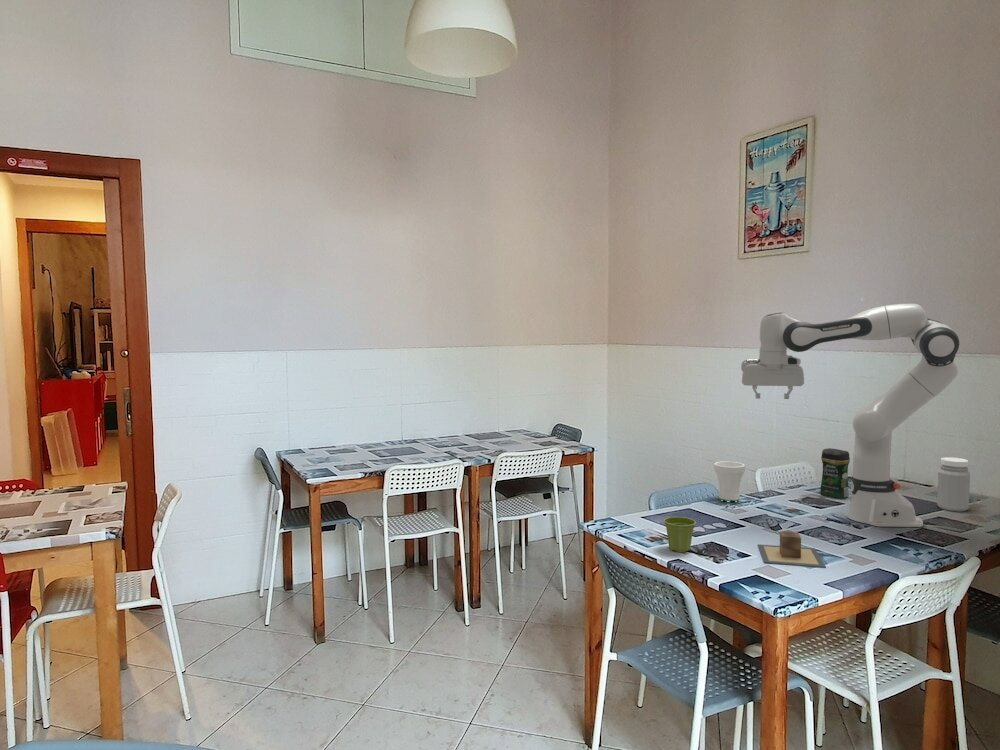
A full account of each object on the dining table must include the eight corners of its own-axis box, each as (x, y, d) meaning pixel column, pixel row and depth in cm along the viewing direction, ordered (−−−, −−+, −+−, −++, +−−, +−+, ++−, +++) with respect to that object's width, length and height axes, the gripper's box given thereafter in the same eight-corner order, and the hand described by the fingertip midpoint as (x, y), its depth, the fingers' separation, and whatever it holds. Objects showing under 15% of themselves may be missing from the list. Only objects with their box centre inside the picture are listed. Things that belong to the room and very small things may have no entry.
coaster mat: (814, 549, 199) (814, 548, 199) (825, 567, 184) (825, 566, 184) (757, 545, 204) (757, 544, 204) (763, 563, 188) (763, 562, 188)
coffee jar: (816, 495, 263) (817, 448, 262) (829, 492, 267) (830, 446, 266) (840, 500, 255) (841, 452, 253) (852, 497, 259) (853, 450, 257)
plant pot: (660, 544, 206) (660, 516, 205) (691, 544, 206) (691, 516, 205) (667, 554, 197) (667, 525, 196) (699, 554, 196) (699, 525, 196)
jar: (973, 513, 235) (974, 462, 234) (940, 511, 239) (942, 461, 237) (964, 506, 244) (966, 457, 243) (933, 504, 248) (935, 456, 246)
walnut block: (797, 552, 196) (798, 532, 195) (800, 558, 191) (801, 537, 190) (779, 551, 197) (779, 531, 197) (782, 557, 192) (782, 536, 192)
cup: (749, 504, 251) (750, 466, 250) (720, 505, 250) (721, 467, 249) (736, 496, 262) (737, 460, 261) (709, 497, 261) (709, 461, 260)
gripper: (742, 359, 234) (741, 399, 235) (805, 359, 229) (804, 400, 229) (740, 358, 240) (740, 397, 241) (802, 358, 235) (801, 398, 236)
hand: (772, 398), depth 235 cm, fingers open, 8 cm apart
